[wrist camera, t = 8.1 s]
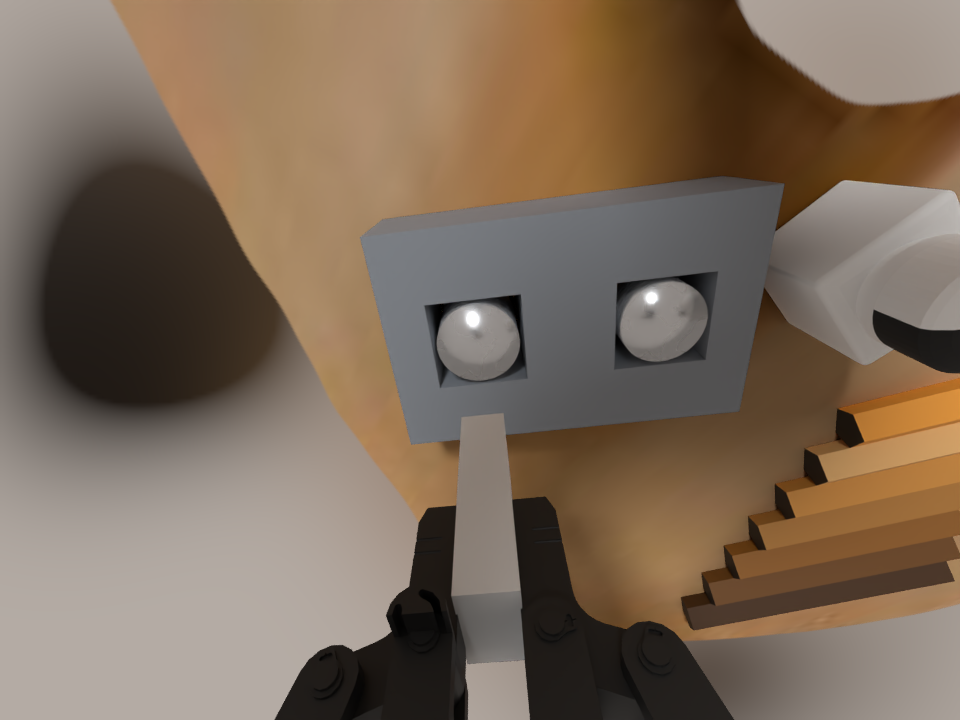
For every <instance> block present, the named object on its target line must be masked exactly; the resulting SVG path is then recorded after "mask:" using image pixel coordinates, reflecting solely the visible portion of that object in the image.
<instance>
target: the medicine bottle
mask: <svg viewBox="0 0 960 720" xmlns="http://www.w3.org/2000/svg"><path fill="white" fill-rule="evenodd" d="M764 288H765V289H766V291H767V292H768V294H769V295H770V296H771V298H772V299H773V301H774V302H775V304H776V305H777V307H778V308H779V310H780V311H781V313H782V314H783V316H784V317H785V319H786V320H787V322H788V323H790V324H791V325H793V326H795V327H797V328H798V329H800V330H802V331H804V332H805V333H807V334H809V335H811V336H812V337H814V338H816V339H818V340H819V341H821V342H823V343H825V344H826V345H828V346H830V347H832V348H833V349H835V350H837V351H839V352H840V353H842V354H844V355H846V356H847V357H849V358H851V359H853V360H854V361H856V362H858V363H860V364H862V365H868V364H871V363H872V362H874V361H876V360H877V359H879V358H880V357H882V356H884V355H885V354H887V353H889V352H890V351H892V350H896V351H898V352H900V353H902V354H904V355H906V356H909V357H911V358H913V359H915V360H917V361H919V362H921V363H923V364H925V365H927V366H929V367H931V368H933V369H935V370H938V371H941V372H946V373H960V204H959V201H958V199H957V196H956V194H955V193H954V192H953V191H951V190H944V189H933V188H923V187H912V186H902V185H891V184H881V183H870V182H860V181H849V180H844V181H841V182H840V183H838V184H837V185H836V186H834V187H833V188H832V189H830V190H829V191H828V192H826V193H825V194H824V195H823V196H821V197H820V198H819V199H817V200H816V201H815V202H813V203H812V204H811V205H809V206H808V207H807V208H806V209H804V210H803V211H802V212H800V213H799V214H798V215H796V216H795V217H794V218H792V219H791V220H790V221H789V222H787V223H786V224H785V225H783V226H782V227H781V228H779V229H778V230H777V231H775V235H774V240H773V245H772V250H771V255H770V260H769V265H768V270H767V275H766V280H765V285H764Z"/></svg>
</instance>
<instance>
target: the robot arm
mask: <svg viewBox="0 0 960 720" xmlns="http://www.w3.org/2000/svg"><path fill="white" fill-rule="evenodd" d="M414 553H415V555H414V559H413V566H412V572H411V578H410V586H409V587H408V588H407V589H405V590H404V591H402V592H401V593H399V594H398V595H397V596H396V598H395V599H394V600H393V601H392V602H391V604H390V606H389V609H388V612H387V614H386V617H387V620H388V622H389V624H390V628H391V630H392V632H391V633H389V634H388V635H387V636H386V637H384V638H383V639H381V640H379V641H377V642H375V643H373V644H370V645H368V646H366V647H363V648H361V649H359V650H356V651H354V652H353V651H352V650H351V649H349V648H347V647H345V646H343V645H333V646H329V647H327V648H325V649H322V650H320V651H319V652H318V653H317V654H315V655H314V656H313V657H312V658H310V659H309V660H308V662H307V663H306V665H305V666H304V667H303V669H302V670H301V671H300V673H299V675H298V677H297V679H296V680H295V683H294V684H293V686H292V688H291V690H290V692H289V694H288V696H287V697H286V699H285V701H284V703H283V705H282V707H281V709H280V711H279V712H278V714H277V716H276V718H275V720H468V690H467V683H466V679H465V671H466V670H465V669H466V659H467V663H468V664H475V663H489V662H503V661H518V660H525V668H526V679H527V690H528V700H529V713H530V720H734V719H733V717H732V716H731V714H730V713H729V711H728V710H727V708H726V706H725V705H724V703H723V702H722V701H721V699H720V697H719V696H718V694H717V693H716V691H715V690H714V688H713V687H712V685H711V683H710V682H709V680H708V679H707V677H706V676H705V674H704V673H703V671H702V670H701V668H700V667H699V665H698V664H697V662H696V660H695V659H694V657H693V656H692V654H691V653H690V651H689V650H688V648H687V647H686V645H685V644H684V643H683V641H682V640H681V639H680V638H679V637H678V636H677V635H676V633H675V632H673V631H672V630H670V629H668V628H667V627H665V626H664V625H662V624H658V623H654V622H651V621H646V622H637V623H636V624H634V625H632V626H631V627H629V628H628V629H623V628H619V627H615V626H612V625H608V624H605V623H602V622H600V621H597V620H595V619H594V618H592V617H591V616H589V615H588V614H587V613H586V612H585V611H584V610H583V609H582V608H581V607H580V606H579V604H578V603H577V601H576V599H575V597H574V594H573V590H572V586H571V581H570V576H569V572H568V567H567V562H566V557H565V553H564V548H563V543H562V538H561V534H560V529H559V524H558V520H557V515H556V510H555V509H554V507H553V506H552V505H551V503H550V502H549V501H548V499H547V498H546V497H536V498H525V499H514V500H513V499H512V489H511V479H510V469H509V460H508V451H507V441H506V432H505V423H504V414H503V413H499V414H489V415H478V416H468V417H461V434H460V452H459V469H458V487H457V505H456V506H446V507H435V508H428V509H427V510H426V512H425V514H424V515H423V517H422V519H421V520H420V522H419V526H418V532H417V542H416V545H415V552H414Z"/></svg>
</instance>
